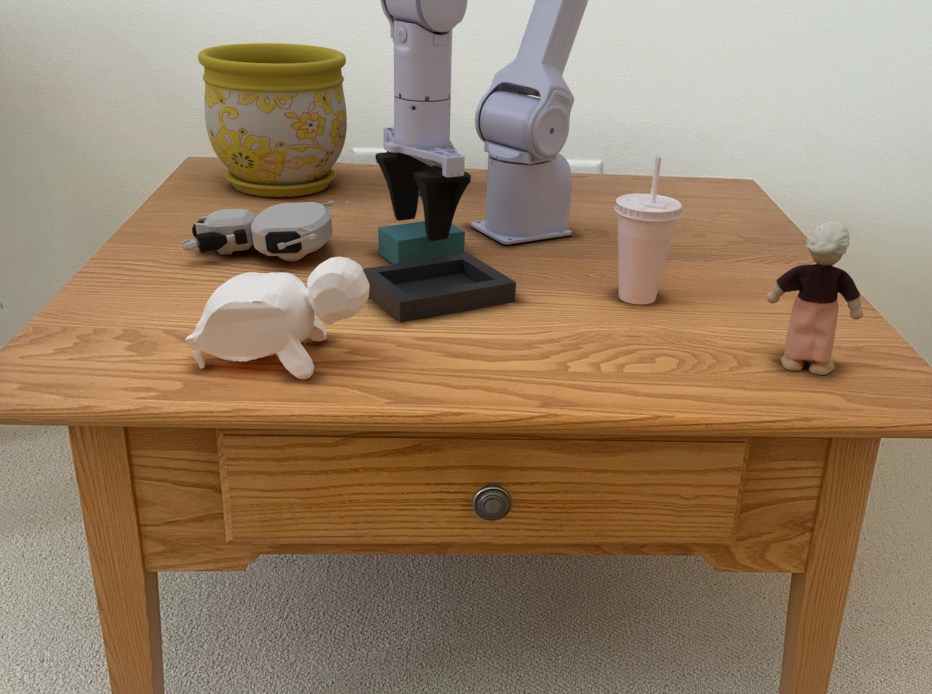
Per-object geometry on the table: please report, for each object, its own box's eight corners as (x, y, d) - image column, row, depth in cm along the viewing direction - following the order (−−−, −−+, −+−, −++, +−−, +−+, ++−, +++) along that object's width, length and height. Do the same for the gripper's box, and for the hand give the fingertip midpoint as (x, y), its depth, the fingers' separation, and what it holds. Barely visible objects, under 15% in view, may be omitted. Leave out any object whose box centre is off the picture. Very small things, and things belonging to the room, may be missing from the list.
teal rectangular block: (442, 244, 108) (443, 218, 106) (464, 258, 104) (465, 231, 103) (378, 253, 104) (377, 227, 103) (398, 268, 100) (398, 240, 99)
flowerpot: (339, 207, 119) (334, 67, 111) (194, 200, 119) (179, 60, 111) (357, 170, 135) (354, 46, 126) (230, 165, 134) (218, 40, 126)
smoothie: (629, 313, 92) (647, 166, 85) (592, 291, 97) (606, 150, 90) (682, 304, 95) (704, 161, 88) (644, 282, 99) (661, 145, 93)
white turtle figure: (213, 409, 78) (383, 354, 75) (163, 318, 74) (340, 257, 71) (238, 364, 85) (394, 313, 83) (194, 279, 81) (355, 223, 79)
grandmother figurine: (842, 360, 84) (877, 219, 78) (849, 379, 81) (886, 233, 75) (753, 351, 85) (780, 211, 79) (756, 369, 82) (785, 225, 76)
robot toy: (180, 275, 98) (325, 271, 98) (172, 233, 96) (320, 228, 96) (211, 238, 109) (342, 234, 108) (204, 199, 107) (338, 194, 106)
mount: (467, 271, 100) (468, 252, 100) (515, 301, 93) (516, 282, 92) (358, 288, 95) (357, 269, 94) (399, 322, 88) (399, 302, 87)
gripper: (356, 86, 99) (359, 214, 106) (419, 112, 89) (418, 253, 95) (417, 83, 103) (415, 208, 109) (485, 108, 92) (479, 245, 99)
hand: (421, 228), depth 103 cm, fingers open, 7 cm apart
